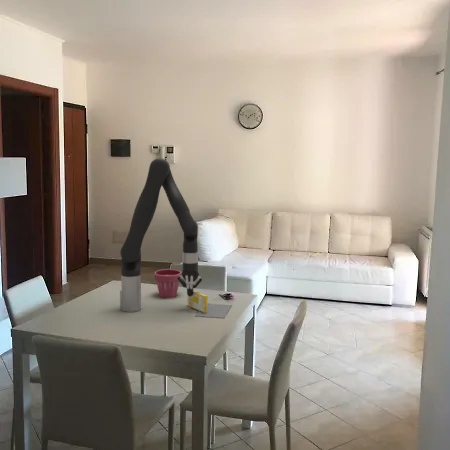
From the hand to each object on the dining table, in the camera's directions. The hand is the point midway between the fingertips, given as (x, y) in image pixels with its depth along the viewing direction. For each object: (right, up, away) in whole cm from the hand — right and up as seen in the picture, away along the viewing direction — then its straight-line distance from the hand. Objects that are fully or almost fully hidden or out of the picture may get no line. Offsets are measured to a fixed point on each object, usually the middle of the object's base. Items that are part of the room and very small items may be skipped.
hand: (190, 295), depth 246 cm
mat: (+12, -7, -1) cm, 14 cm away
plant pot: (-14, -3, +24) cm, 27 cm away
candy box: (+3, -7, 0) cm, 7 cm away
